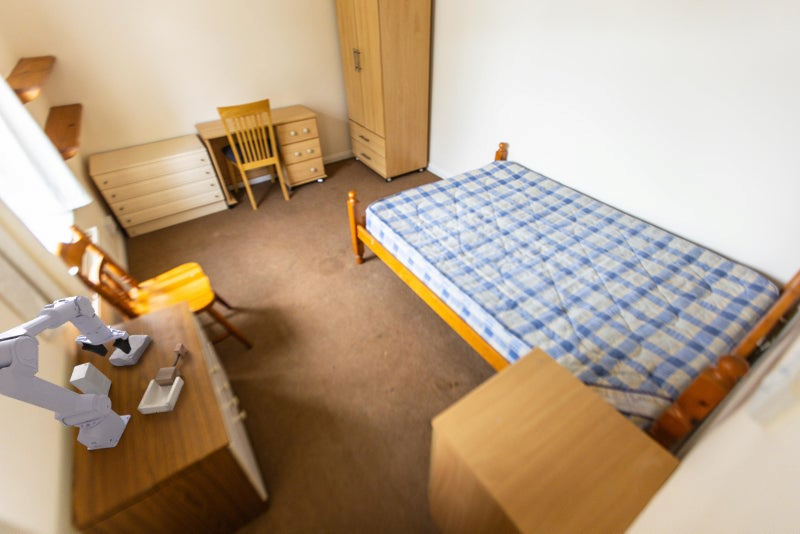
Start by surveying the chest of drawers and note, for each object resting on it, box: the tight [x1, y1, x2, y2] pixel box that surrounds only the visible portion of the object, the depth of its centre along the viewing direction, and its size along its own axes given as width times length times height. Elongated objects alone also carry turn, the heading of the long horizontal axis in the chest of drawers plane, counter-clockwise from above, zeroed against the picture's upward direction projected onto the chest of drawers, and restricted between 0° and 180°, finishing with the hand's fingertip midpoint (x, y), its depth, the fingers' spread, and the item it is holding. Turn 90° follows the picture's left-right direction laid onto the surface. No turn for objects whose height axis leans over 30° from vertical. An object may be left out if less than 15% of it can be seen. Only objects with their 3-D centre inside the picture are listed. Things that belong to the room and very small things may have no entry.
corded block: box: [155, 342, 188, 387], centre depth 120 cm, size 15×5×4 cm, turn 6°
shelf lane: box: [137, 376, 185, 415], centre depth 112 cm, size 10×9×4 cm
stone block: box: [108, 334, 152, 367], centre depth 127 cm, size 12×5×10 cm
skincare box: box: [69, 362, 112, 397], centre depth 112 cm, size 6×4×12 cm
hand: (117, 352), depth 116 cm, fingers open, 7 cm apart
